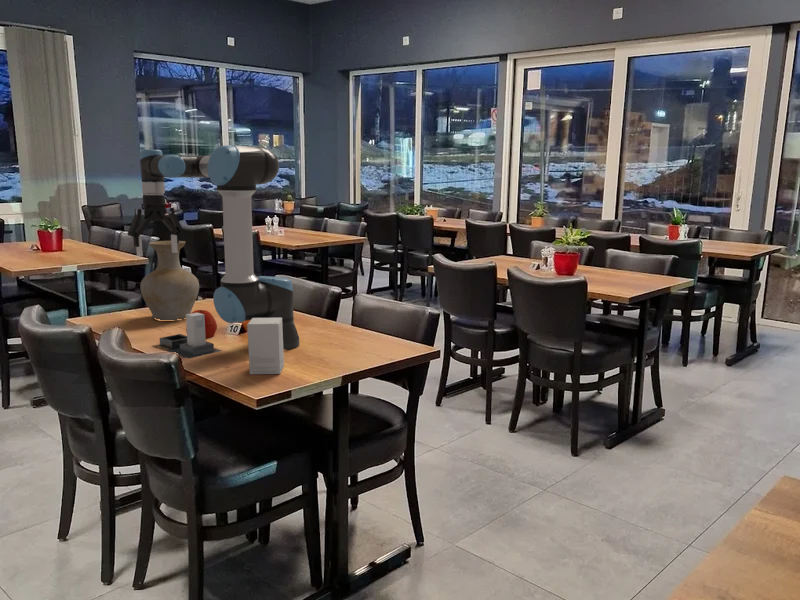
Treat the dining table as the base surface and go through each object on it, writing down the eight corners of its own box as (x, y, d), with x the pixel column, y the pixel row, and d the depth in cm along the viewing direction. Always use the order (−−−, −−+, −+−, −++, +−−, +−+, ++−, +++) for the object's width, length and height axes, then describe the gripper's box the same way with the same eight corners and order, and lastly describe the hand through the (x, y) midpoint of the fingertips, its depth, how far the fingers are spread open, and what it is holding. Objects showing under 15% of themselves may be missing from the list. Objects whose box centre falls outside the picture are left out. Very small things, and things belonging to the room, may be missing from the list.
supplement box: (284, 365, 199) (283, 316, 196) (280, 374, 190) (278, 323, 188) (254, 365, 199) (252, 317, 196) (248, 374, 190) (246, 323, 187)
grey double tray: (222, 354, 211) (222, 343, 210) (189, 362, 202) (188, 350, 202) (184, 342, 225) (183, 332, 225) (151, 349, 216) (150, 338, 216)
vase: (187, 310, 279) (183, 238, 273) (209, 318, 262) (206, 242, 256) (134, 316, 265) (129, 241, 259) (154, 326, 248) (148, 246, 243)
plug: (207, 351, 209) (205, 314, 207) (196, 354, 206) (194, 316, 204) (199, 349, 212) (197, 312, 210) (187, 351, 209) (185, 314, 207)
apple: (223, 337, 233) (221, 308, 231) (203, 344, 224) (201, 313, 222) (200, 334, 237) (198, 305, 235) (179, 340, 228) (177, 311, 226)
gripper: (179, 193, 246) (183, 250, 250) (114, 194, 227) (118, 256, 231) (191, 193, 241) (194, 252, 245) (125, 195, 223) (129, 258, 227)
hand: (157, 254), depth 238 cm, fingers open, 13 cm apart
